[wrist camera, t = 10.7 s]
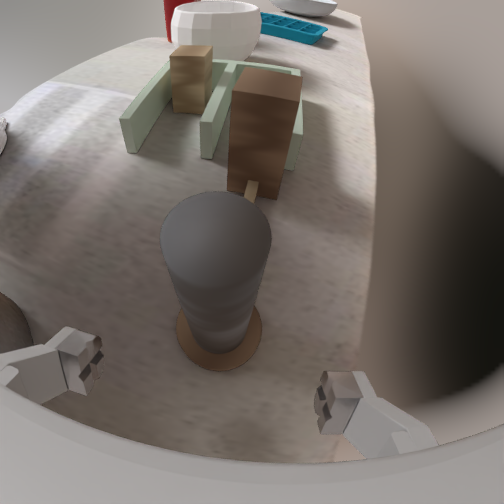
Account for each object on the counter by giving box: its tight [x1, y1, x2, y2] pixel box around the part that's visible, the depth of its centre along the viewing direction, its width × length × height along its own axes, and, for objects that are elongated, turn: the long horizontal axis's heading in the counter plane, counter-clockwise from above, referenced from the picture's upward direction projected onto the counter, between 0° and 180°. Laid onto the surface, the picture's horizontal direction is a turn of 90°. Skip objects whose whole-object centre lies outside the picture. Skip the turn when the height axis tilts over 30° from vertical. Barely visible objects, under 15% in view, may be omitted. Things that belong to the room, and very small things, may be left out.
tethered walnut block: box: [160, 67, 303, 371], centre depth 16 cm, size 5×18×10 cm, turn 170°
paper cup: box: [164, 0, 201, 43], centre depth 36 cm, size 8×8×14 cm
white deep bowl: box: [171, 0, 262, 61], centre depth 32 cm, size 12×12×10 cm
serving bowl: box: [270, 0, 337, 17], centre depth 62 cm, size 21×21×7 cm
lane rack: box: [119, 59, 303, 171], centre depth 26 cm, size 15×14×4 cm
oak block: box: [169, 45, 213, 114], centre depth 26 cm, size 4×4×7 cm
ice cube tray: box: [260, 12, 328, 45], centre depth 48 cm, size 12×20×3 cm, turn 66°
